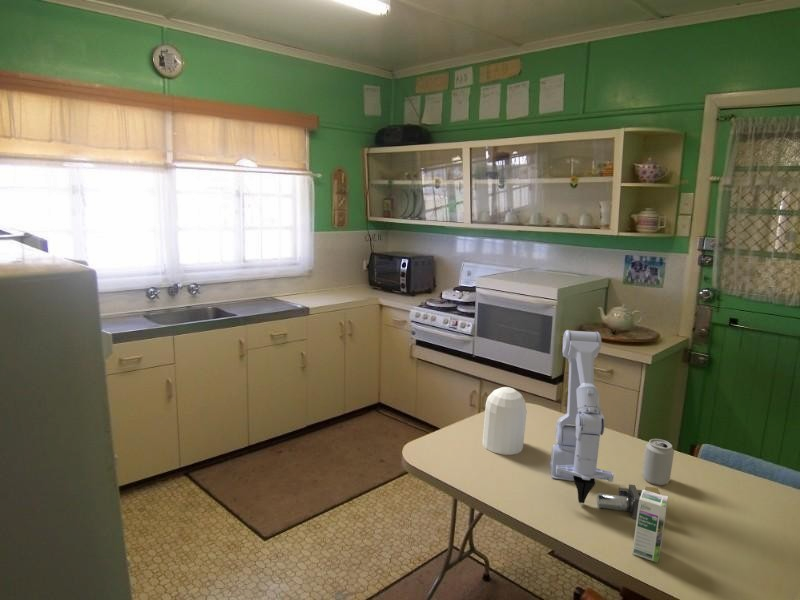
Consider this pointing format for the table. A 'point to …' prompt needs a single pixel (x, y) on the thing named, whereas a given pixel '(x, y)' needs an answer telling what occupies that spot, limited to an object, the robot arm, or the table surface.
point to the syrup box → (649, 525)
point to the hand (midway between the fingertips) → (581, 500)
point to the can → (658, 462)
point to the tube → (615, 502)
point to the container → (504, 421)
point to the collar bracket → (635, 496)
